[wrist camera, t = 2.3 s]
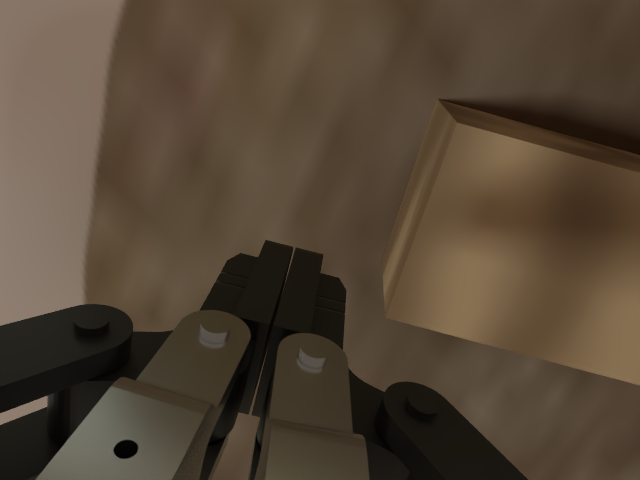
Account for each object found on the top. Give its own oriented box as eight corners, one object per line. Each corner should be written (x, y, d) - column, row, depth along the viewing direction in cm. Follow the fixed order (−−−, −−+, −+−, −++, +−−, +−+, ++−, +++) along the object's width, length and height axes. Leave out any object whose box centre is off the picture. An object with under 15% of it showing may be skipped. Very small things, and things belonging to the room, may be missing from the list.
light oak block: (699, 170, 22) (797, 216, 17) (610, 318, 25) (670, 393, 20) (436, 98, 22) (457, 122, 17) (381, 257, 25) (385, 317, 20)
